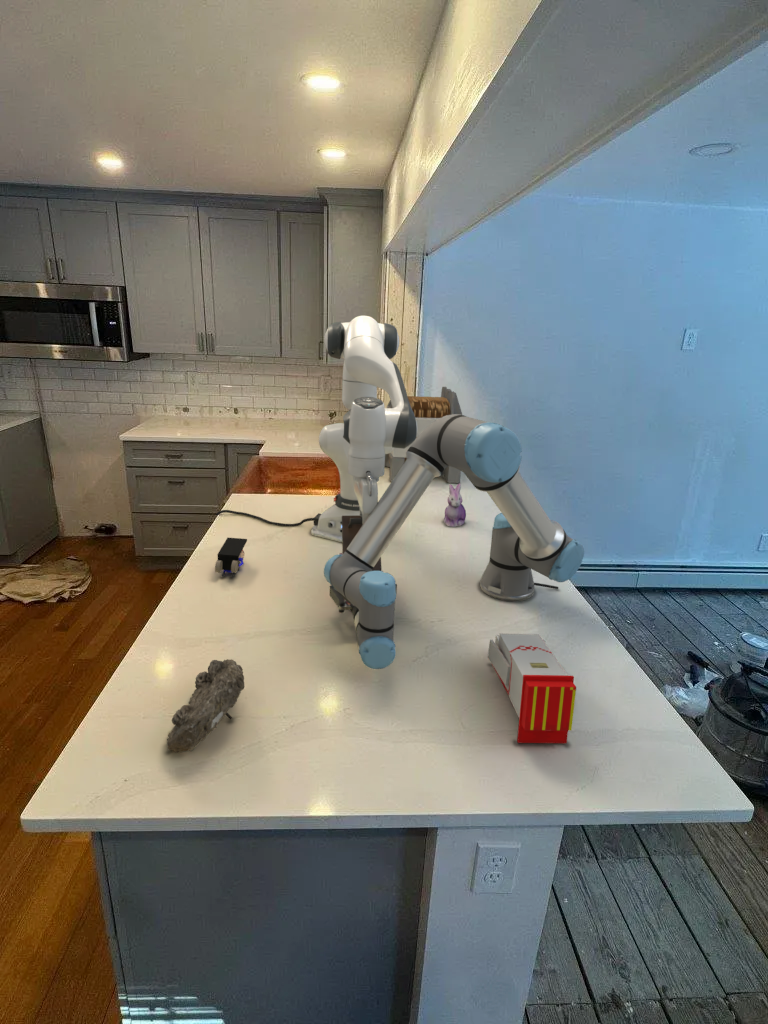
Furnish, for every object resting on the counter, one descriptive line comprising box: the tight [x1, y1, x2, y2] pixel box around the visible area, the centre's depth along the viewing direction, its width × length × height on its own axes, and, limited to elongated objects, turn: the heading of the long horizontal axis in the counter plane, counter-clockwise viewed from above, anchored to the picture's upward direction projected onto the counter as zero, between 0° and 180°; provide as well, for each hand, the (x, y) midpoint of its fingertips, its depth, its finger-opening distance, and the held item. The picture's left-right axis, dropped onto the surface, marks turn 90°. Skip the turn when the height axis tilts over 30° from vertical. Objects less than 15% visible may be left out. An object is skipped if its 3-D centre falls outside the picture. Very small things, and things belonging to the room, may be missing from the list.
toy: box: [487, 632, 577, 744], centre depth 116 cm, size 12×13×30 cm
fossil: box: [166, 658, 245, 754], centre depth 106 cm, size 22×10×15 cm
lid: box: [341, 515, 382, 571], centre depth 145 cm, size 15×10×9 cm
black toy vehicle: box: [214, 537, 248, 578], centre depth 166 cm, size 7×8×15 cm
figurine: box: [443, 483, 467, 528], centre depth 210 cm, size 9×10×15 cm
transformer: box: [385, 386, 463, 484], centre depth 268 cm, size 34×33×41 cm
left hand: (364, 520), depth 141 cm, fingers open, 4 cm apart
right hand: (360, 576), depth 152 cm, fingers closed on chest, 10 cm apart
